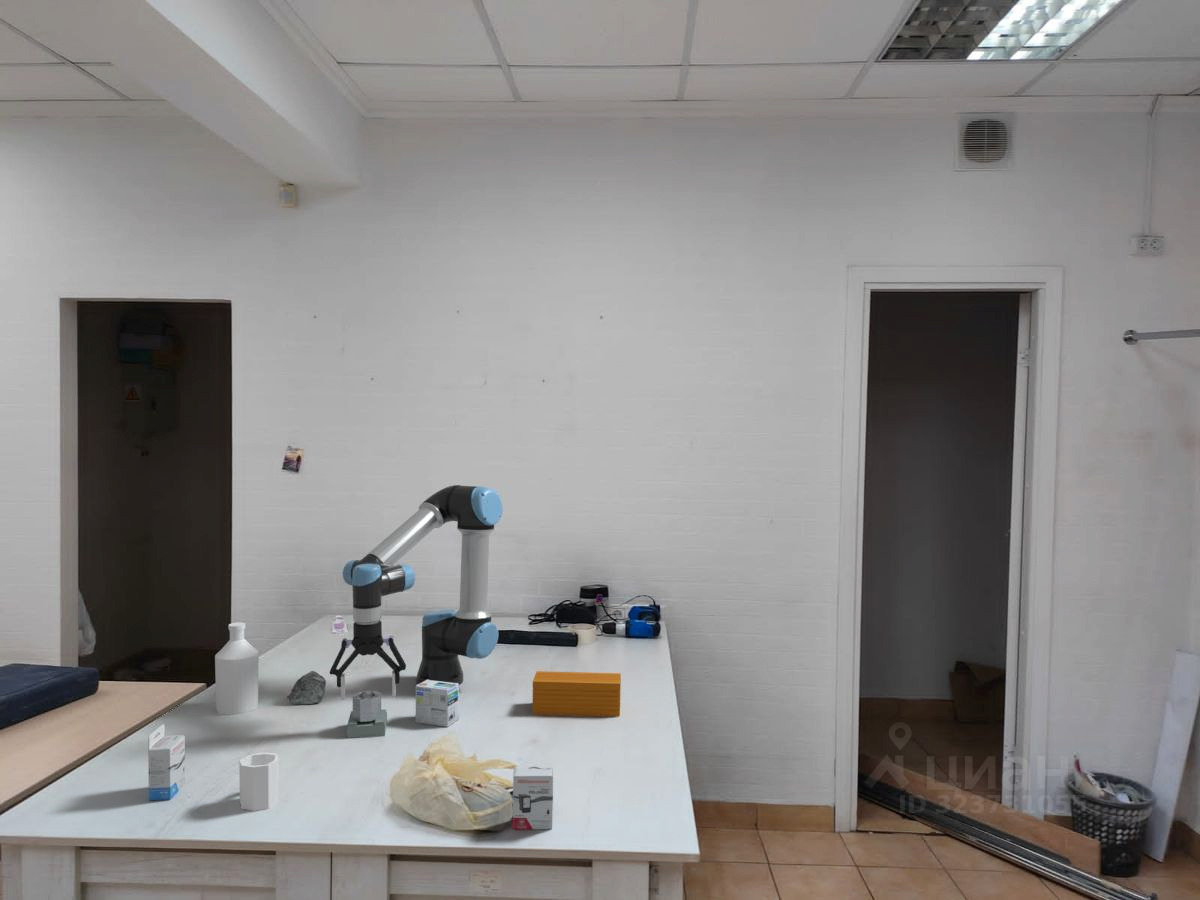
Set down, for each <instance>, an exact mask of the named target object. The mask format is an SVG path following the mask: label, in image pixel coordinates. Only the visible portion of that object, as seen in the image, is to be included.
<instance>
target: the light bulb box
mask: <svg viewBox="0 0 1200 900" xmlns="http://www.w3.org/2000/svg"><path fill="white" fill-rule="evenodd" d="M459 685H460V684H459V683H450V682H442V681H433V680H426V681H424V682H422V683H420V684H416V685H415V723H418V724H425V725H432V726H439V727H447V728H448V727H450V726H451V725H453V724H454V723H456V722H457V721H459V719H460V713H459V712H460V711H459V709H460V708H459V707H460V705H459V704H460V703H459V700H460V698H459V697H460V695H459V691H460V690H459V688H460V687H459Z"/></svg>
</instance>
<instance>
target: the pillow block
mask: <svg viewBox="0 0 1200 900" xmlns="http://www.w3.org/2000/svg"><path fill="white" fill-rule="evenodd" d="M371 697H372V693H365V694H363V698H371ZM387 725H388V712H387V709H381V718H379V719H376V720H374V721H366V722H359V721H356V720H353V710H351V711H350V714H349V717H348V722H347V725H346V739H352V738H353V739H354V738H372V737H385V736H386V732H387Z"/></svg>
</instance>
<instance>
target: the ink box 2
mask: <svg viewBox="0 0 1200 900" xmlns="http://www.w3.org/2000/svg"><path fill="white" fill-rule="evenodd" d="M512 778H513V779H512V780H513V781H512V785H513V786H512V830H514V831H515V830H552V829H553V819H554V817H553V815H554V813H553V811H554V767H553V766H552V765H516V766H514V767H513V777H512Z"/></svg>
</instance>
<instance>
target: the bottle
mask: <svg viewBox="0 0 1200 900" xmlns="http://www.w3.org/2000/svg"><path fill="white" fill-rule="evenodd" d="M245 629H246V622H241V621H240V622H232V623H229V624H228V630H229V640H228V641H227V643H226V644H224V646H223V647H222V648H221V649H220V650H219V651H218V652H217V653H216V654H215V656H214V668H215V669H214V670H215V671H214V673H215V675H214V676H215V702H216V703H215V705H216V706H215V707H216V708H215V711H216V713H217V714H221V715H226V716H233V715H234V716H235V715H242V714H246V713H251V712H252V711H254V710H256V709H258V708H259V667H260V666H259V664H260V663H259V662H260V661H259V660H260V659H259V656H260V655H259V654H260V653H259V652H260V651H259V650H258V649H257V648H255V646H252V645H251V644H250V643H249V642H248V640H246V638H245Z"/></svg>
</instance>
